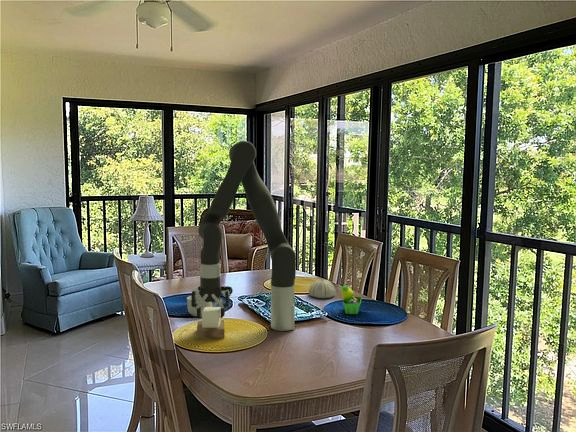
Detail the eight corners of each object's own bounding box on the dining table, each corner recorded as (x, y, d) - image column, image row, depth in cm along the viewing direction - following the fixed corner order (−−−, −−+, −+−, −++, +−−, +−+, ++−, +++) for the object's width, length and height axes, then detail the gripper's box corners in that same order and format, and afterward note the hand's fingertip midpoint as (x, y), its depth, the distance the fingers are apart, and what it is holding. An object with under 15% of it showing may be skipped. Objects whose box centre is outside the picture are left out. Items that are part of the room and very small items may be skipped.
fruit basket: (360, 315, 201) (360, 289, 200) (339, 314, 203) (339, 288, 202) (361, 307, 213) (362, 283, 211) (341, 306, 214) (342, 282, 213)
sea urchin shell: (326, 301, 222) (326, 284, 222) (302, 296, 231) (302, 280, 230) (340, 295, 233) (340, 279, 232) (317, 291, 241) (318, 275, 240)
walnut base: (224, 330, 183) (223, 320, 183) (224, 339, 174) (224, 329, 173) (197, 331, 182) (197, 321, 182) (196, 340, 172) (196, 330, 172)
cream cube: (220, 322, 180) (220, 307, 180) (218, 327, 174) (218, 312, 174) (205, 322, 180) (204, 306, 180) (202, 327, 175) (202, 311, 174)
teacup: (187, 319, 195) (187, 300, 194) (186, 311, 205) (185, 293, 204) (221, 316, 198) (221, 298, 197) (218, 309, 209) (218, 291, 208)
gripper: (230, 272, 179) (230, 314, 181) (193, 272, 179) (193, 314, 181) (228, 277, 172) (228, 320, 173) (189, 277, 172) (189, 320, 173)
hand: (210, 317), depth 177 cm, fingers open, 8 cm apart
